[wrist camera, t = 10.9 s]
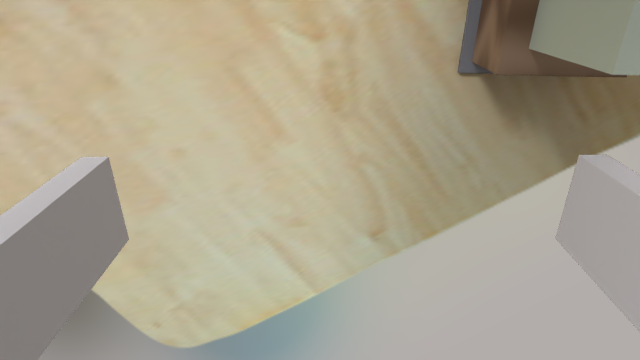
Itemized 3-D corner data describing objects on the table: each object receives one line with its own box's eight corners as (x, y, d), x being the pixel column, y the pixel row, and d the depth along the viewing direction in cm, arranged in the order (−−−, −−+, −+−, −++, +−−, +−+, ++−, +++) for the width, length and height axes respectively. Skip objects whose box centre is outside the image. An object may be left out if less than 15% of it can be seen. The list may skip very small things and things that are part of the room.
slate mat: (481, -81, 33) (483, -82, 33) (632, -78, 33) (635, -79, 33) (457, 71, 38) (459, 72, 38) (587, 74, 38) (590, 75, 38)
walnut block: (493, -67, 33) (526, -77, 28) (618, -65, 33) (676, -74, 28) (471, 61, 37) (496, 74, 32) (582, 63, 37) (626, 77, 32)
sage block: (548, -42, 29) (652, -54, 20) (636, -40, 29) (779, -52, 20) (528, 48, 31) (612, 74, 22) (608, 50, 31) (724, 76, 22)
